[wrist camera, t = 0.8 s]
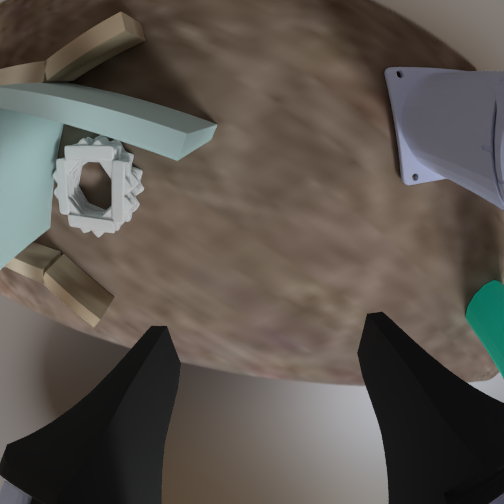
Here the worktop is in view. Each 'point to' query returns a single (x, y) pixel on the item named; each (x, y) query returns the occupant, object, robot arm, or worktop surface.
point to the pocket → (64, 70)
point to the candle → (489, 320)
